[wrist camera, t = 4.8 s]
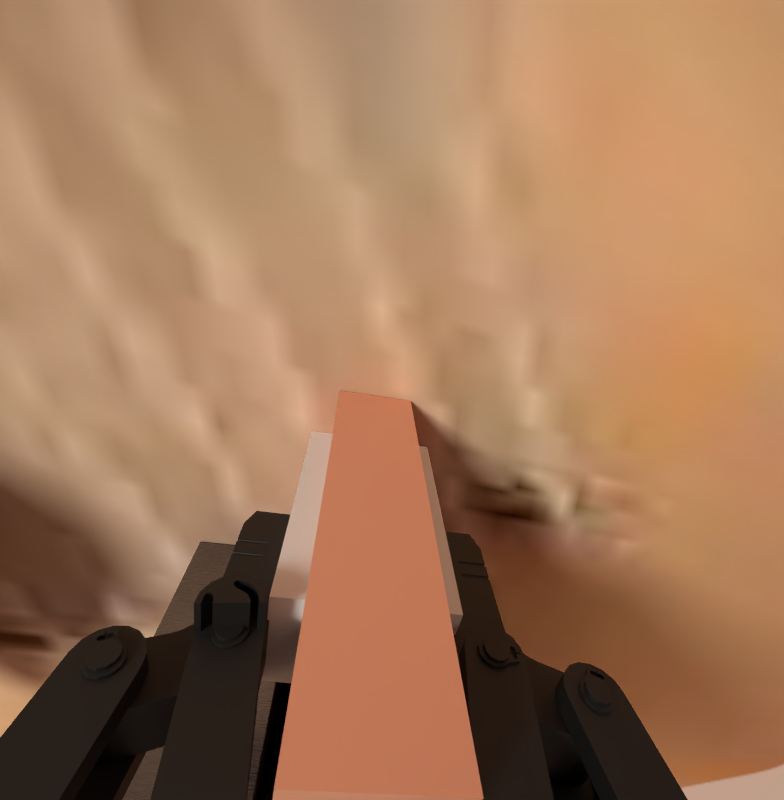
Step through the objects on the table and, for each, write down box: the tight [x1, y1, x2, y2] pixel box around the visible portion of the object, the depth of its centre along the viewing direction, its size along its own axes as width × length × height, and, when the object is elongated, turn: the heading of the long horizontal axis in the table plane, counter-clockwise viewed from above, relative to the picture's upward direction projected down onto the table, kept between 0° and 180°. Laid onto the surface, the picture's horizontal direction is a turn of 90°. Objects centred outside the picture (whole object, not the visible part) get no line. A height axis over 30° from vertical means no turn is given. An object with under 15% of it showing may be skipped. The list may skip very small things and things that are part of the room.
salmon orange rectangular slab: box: [272, 391, 483, 800], centre depth 12 cm, size 12×2×11 cm, turn 170°
